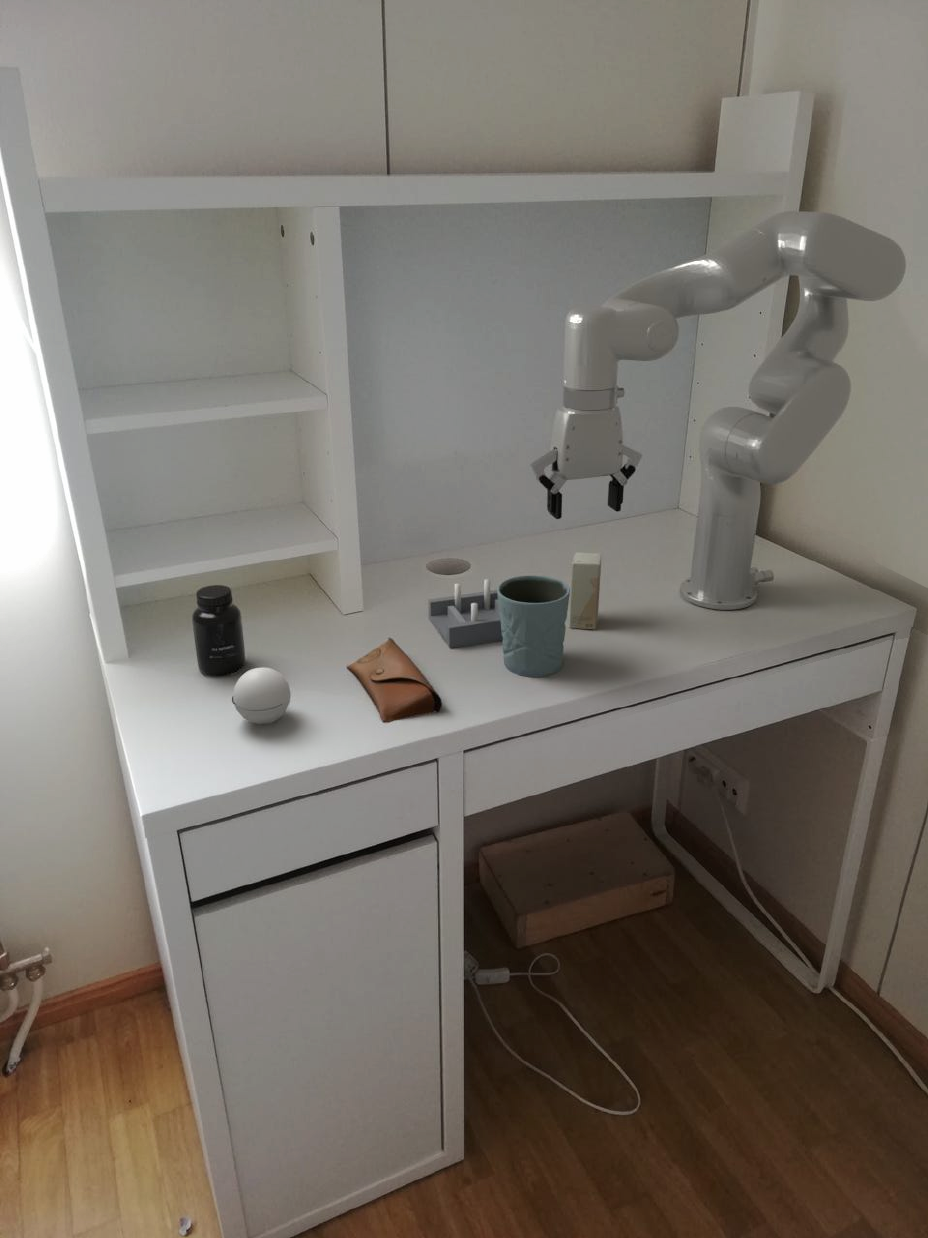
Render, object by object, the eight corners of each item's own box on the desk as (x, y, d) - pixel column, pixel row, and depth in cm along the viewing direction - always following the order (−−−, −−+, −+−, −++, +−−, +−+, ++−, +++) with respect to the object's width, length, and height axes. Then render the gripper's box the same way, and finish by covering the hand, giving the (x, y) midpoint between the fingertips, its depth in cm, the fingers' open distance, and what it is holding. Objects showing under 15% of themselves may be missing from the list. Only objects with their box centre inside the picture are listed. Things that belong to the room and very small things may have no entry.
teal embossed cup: (579, 669, 131) (584, 593, 126) (521, 687, 127) (522, 609, 122) (540, 642, 139) (543, 569, 134) (483, 657, 135) (484, 583, 130)
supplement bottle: (222, 682, 128) (212, 605, 123) (188, 670, 132) (177, 594, 127) (256, 662, 134) (248, 587, 129) (223, 651, 137) (213, 578, 132)
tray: (509, 606, 151) (510, 573, 148) (535, 634, 141) (536, 599, 139) (428, 618, 147) (427, 584, 144) (449, 648, 137) (449, 612, 135)
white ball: (252, 702, 123) (246, 654, 120) (302, 710, 122) (297, 661, 118) (214, 740, 115) (206, 690, 112) (266, 750, 113) (260, 699, 110)
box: (595, 630, 143) (600, 565, 138) (568, 628, 143) (571, 563, 139) (598, 616, 147) (602, 552, 143) (571, 614, 148) (574, 550, 143)
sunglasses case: (341, 665, 133) (361, 625, 131) (381, 678, 136) (401, 639, 135) (383, 724, 118) (406, 680, 117) (427, 737, 122) (450, 695, 120)
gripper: (632, 388, 135) (625, 498, 143) (523, 398, 131) (522, 511, 138) (656, 398, 129) (648, 513, 136) (542, 409, 124) (540, 527, 132)
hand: (584, 512), depth 137 cm, fingers open, 9 cm apart
